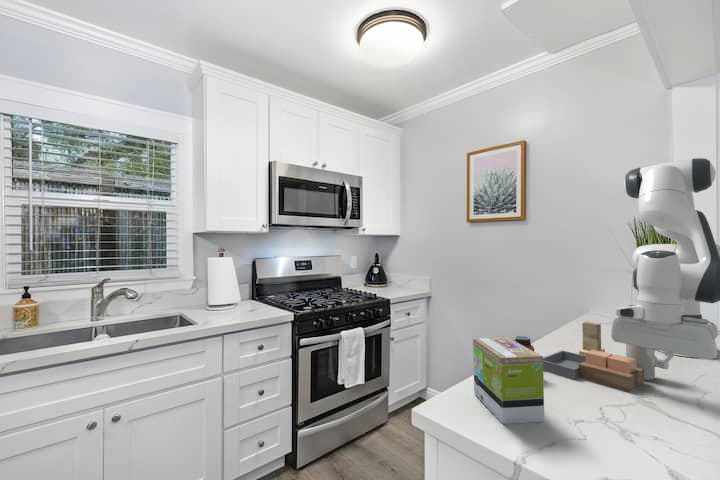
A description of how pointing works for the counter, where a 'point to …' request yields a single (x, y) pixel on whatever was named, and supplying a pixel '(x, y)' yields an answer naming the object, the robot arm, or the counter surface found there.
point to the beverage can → (641, 360)
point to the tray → (563, 364)
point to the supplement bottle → (524, 342)
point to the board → (611, 377)
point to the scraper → (591, 337)
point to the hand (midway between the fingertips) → (660, 367)
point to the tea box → (509, 380)
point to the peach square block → (597, 358)
